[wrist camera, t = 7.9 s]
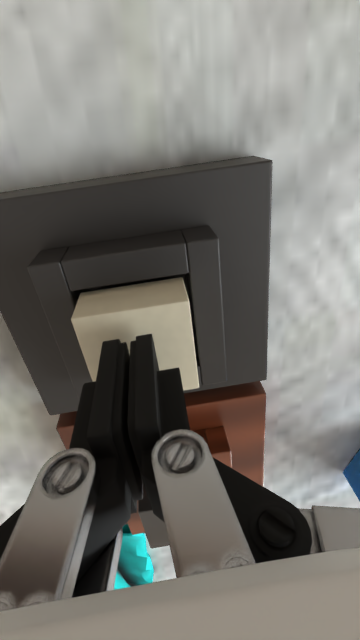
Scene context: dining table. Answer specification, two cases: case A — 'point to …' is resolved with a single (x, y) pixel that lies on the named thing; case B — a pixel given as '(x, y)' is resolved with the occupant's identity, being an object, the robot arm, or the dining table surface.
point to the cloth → (133, 561)
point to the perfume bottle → (354, 474)
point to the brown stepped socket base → (216, 429)
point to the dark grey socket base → (140, 265)
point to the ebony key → (152, 523)
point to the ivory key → (139, 324)
